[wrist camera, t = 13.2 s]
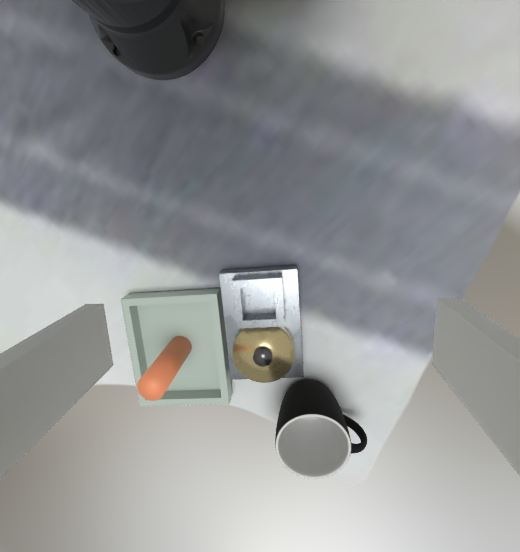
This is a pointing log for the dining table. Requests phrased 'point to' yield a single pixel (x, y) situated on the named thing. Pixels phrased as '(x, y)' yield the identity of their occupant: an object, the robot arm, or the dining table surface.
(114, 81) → the dining table surface
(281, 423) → the mug
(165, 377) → the pin
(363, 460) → the dining table surface
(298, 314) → the pulley block
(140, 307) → the tray
